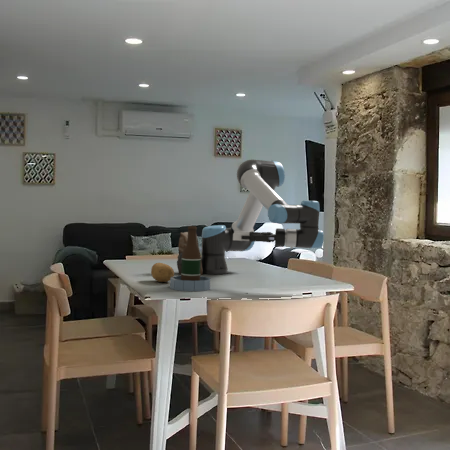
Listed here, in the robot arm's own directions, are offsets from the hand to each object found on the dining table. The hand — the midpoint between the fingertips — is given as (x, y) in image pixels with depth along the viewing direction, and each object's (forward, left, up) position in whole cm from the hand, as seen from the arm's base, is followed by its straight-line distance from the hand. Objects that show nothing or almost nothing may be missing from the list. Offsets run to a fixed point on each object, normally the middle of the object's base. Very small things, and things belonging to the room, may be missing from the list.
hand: (233, 235), depth 236 cm
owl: (-40, -20, -22) cm, 50 cm away
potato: (-9, -30, -22) cm, 38 cm away
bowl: (+5, -17, -22) cm, 28 cm away
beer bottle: (+5, -17, -21) cm, 27 cm away
